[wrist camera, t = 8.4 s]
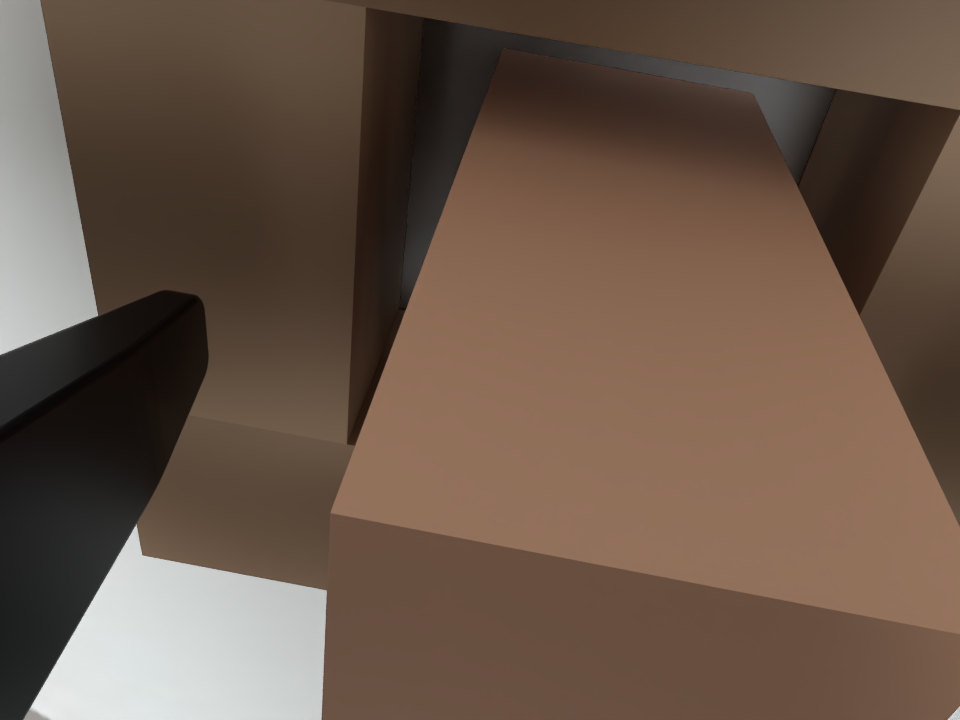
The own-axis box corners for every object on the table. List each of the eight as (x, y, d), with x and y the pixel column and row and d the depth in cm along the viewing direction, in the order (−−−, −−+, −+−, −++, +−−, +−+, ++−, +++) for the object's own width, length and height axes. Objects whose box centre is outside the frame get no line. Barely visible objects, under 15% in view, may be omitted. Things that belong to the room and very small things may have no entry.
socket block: (839, 531, 18) (891, 697, 15) (224, 417, 18) (142, 555, 15) (1311, -258, 9) (1676, -278, 6) (157, -444, 10) (-62, -554, 7)
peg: (680, 304, 15) (768, 912, 7) (469, 265, 15) (317, 821, 7) (753, 93, 13) (1016, 645, 5) (503, 47, 13) (329, 511, 5)
